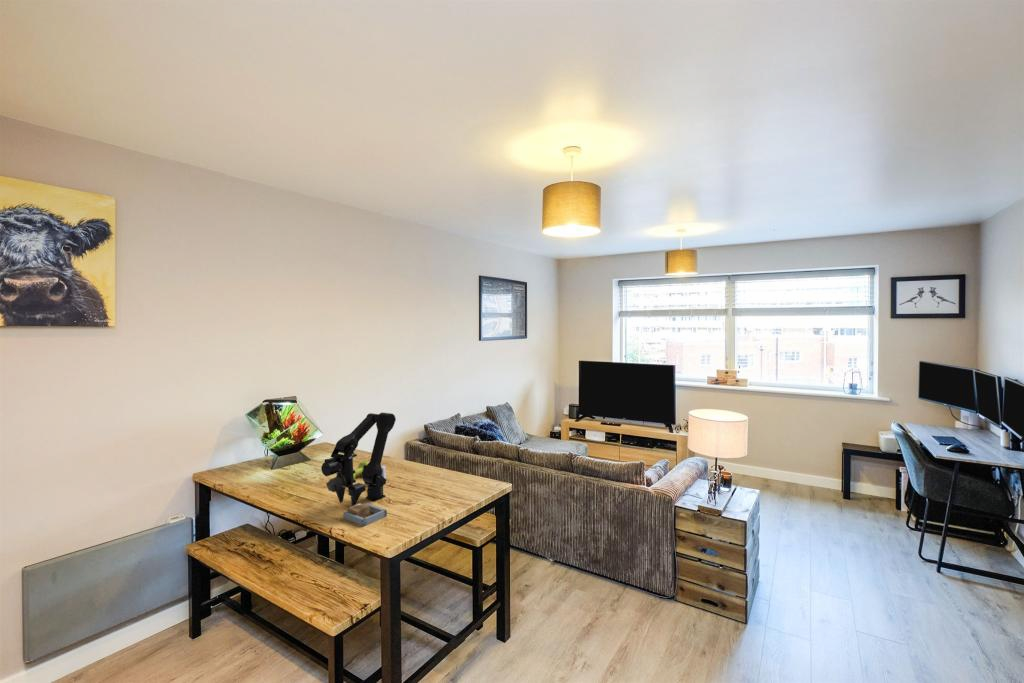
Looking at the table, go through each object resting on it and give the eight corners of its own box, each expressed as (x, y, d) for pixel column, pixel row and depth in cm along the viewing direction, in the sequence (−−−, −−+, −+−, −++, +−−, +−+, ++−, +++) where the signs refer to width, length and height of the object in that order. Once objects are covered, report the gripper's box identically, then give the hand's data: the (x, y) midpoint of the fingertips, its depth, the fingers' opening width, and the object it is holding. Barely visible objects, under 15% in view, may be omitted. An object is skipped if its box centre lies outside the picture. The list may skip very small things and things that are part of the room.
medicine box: (386, 482, 233) (385, 465, 233) (384, 485, 229) (383, 468, 229) (370, 482, 233) (369, 465, 233) (368, 485, 229) (367, 468, 228)
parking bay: (366, 508, 201) (366, 503, 201) (386, 515, 193) (386, 510, 193) (343, 518, 192) (343, 512, 191) (364, 526, 184) (363, 520, 184)
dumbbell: (351, 485, 230) (350, 471, 229) (339, 483, 233) (338, 469, 233) (373, 474, 245) (373, 461, 244) (361, 473, 248) (361, 459, 248)
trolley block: (359, 511, 198) (359, 502, 198) (369, 515, 194) (369, 506, 194) (347, 516, 193) (347, 507, 193) (357, 521, 189) (357, 511, 189)
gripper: (316, 470, 197) (317, 506, 198) (342, 478, 186) (343, 516, 187) (339, 463, 206) (340, 497, 207) (365, 471, 195) (367, 507, 196)
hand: (347, 504), depth 199 cm, fingers open, 8 cm apart
